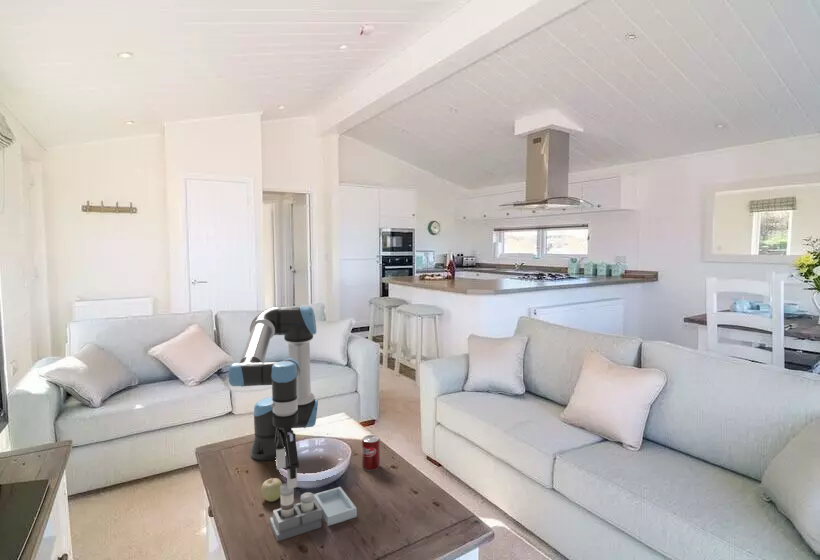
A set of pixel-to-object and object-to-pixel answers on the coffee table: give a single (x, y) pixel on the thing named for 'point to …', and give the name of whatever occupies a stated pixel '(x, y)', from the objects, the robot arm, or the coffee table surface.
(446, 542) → the coffee table surface
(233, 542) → the coffee table surface
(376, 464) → the soda can
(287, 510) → the cylinder
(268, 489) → the fruit
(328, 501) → the tray
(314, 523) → the block
